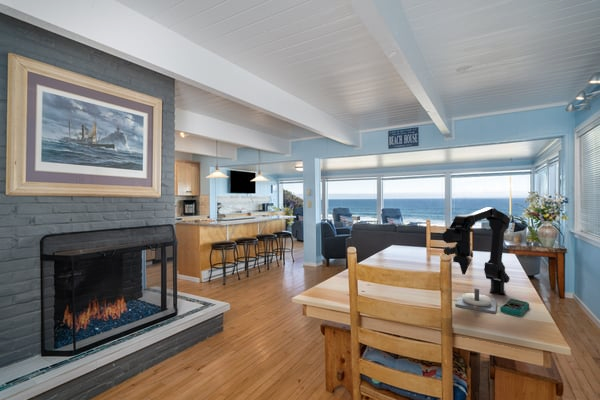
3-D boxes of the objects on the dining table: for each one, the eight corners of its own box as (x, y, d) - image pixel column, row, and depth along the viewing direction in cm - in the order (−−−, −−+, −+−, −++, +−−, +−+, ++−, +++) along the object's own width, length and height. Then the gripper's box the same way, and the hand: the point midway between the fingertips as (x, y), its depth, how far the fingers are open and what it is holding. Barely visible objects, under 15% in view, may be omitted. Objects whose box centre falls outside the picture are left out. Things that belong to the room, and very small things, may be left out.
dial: (462, 303, 130) (462, 288, 130) (462, 295, 140) (462, 281, 140) (492, 307, 125) (491, 291, 125) (489, 299, 135) (489, 284, 134)
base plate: (460, 296, 143) (460, 294, 143) (497, 302, 134) (497, 300, 134) (455, 306, 130) (455, 303, 130) (495, 314, 122) (495, 311, 122)
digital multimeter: (499, 312, 124) (499, 306, 124) (509, 303, 133) (509, 297, 133) (520, 318, 118) (520, 311, 118) (529, 308, 128) (529, 301, 128)
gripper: (448, 237, 151) (448, 267, 151) (440, 243, 136) (441, 276, 136) (473, 239, 144) (473, 270, 144) (468, 245, 129) (468, 280, 129)
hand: (463, 274), depth 139 cm, fingers closed
